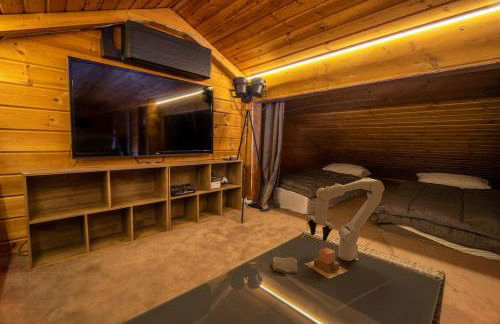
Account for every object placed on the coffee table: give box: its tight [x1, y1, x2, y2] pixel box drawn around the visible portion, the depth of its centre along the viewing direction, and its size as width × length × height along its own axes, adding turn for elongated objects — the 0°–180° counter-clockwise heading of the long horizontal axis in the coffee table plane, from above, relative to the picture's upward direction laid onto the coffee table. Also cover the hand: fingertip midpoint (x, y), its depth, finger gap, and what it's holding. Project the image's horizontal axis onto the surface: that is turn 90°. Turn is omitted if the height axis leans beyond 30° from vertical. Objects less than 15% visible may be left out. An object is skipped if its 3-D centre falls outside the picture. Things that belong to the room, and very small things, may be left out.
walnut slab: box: [313, 257, 340, 274], centre depth 109 cm, size 8×8×3 cm
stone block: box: [271, 256, 299, 275], centre depth 107 cm, size 12×5×10 cm
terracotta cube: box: [318, 246, 336, 265], centre depth 109 cm, size 5×5×5 cm
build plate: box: [304, 260, 349, 280], centre depth 109 cm, size 14×14×1 cm
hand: (318, 237), depth 120 cm, fingers open, 7 cm apart
